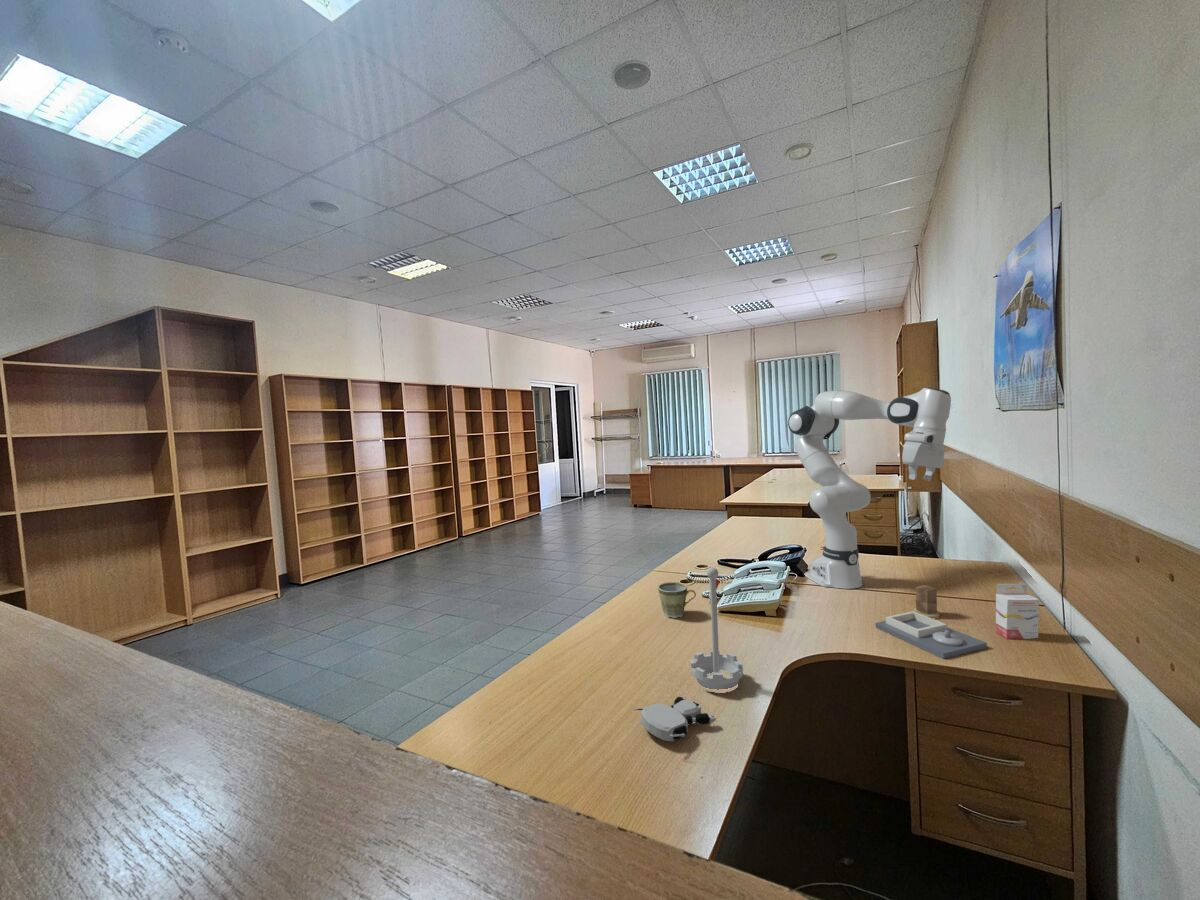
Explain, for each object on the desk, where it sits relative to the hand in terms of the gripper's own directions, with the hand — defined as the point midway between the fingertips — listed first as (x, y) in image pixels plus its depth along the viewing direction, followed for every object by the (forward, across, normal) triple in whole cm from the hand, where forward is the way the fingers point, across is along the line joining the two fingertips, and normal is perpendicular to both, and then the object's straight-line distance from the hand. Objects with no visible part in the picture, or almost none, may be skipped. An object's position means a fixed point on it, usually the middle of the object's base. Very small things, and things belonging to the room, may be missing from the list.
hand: (919, 480), depth 160 cm
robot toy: (+59, +97, +4) cm, 114 cm away
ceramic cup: (+58, +55, -43) cm, 91 cm away
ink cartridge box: (+40, -8, +30) cm, 51 cm away
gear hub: (+43, -5, +7) cm, 44 cm away
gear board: (+44, +11, +15) cm, 48 cm away
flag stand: (+57, +76, -4) cm, 95 cm away
